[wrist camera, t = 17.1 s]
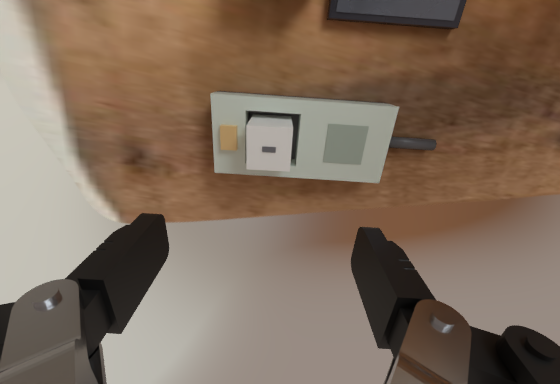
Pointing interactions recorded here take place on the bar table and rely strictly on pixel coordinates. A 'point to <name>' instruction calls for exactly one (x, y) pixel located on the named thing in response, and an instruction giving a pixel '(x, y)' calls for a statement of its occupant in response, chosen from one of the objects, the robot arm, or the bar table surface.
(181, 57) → the bar table surface
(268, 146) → the charger
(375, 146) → the strip
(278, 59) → the bar table surface
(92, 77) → the bar table surface
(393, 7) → the phone
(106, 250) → the robot arm
